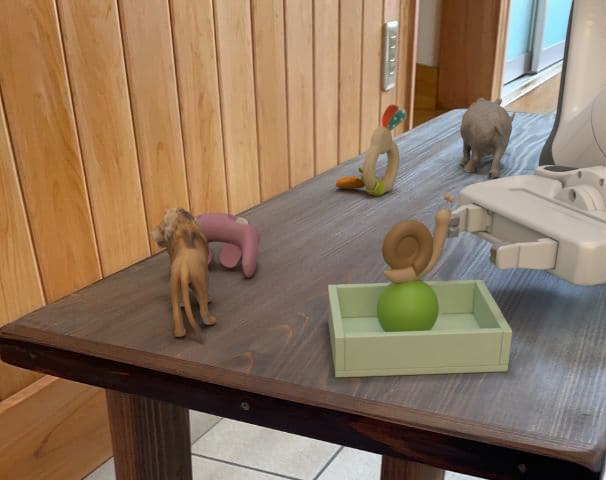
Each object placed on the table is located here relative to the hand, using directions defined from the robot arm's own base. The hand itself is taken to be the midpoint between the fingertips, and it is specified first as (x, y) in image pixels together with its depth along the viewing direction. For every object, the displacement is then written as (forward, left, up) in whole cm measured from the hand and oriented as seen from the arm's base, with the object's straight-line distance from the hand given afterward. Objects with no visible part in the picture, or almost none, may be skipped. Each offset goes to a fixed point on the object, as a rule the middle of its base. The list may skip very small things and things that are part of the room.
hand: (464, 241), depth 73 cm
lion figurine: (+25, -8, -9) cm, 28 cm away
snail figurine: (+4, +1, -8) cm, 9 cm away
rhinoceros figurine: (-16, -66, -9) cm, 69 cm away
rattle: (+3, -53, -9) cm, 54 cm away
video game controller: (+23, -21, -9) cm, 33 cm away
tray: (+4, +1, -9) cm, 10 cm away
